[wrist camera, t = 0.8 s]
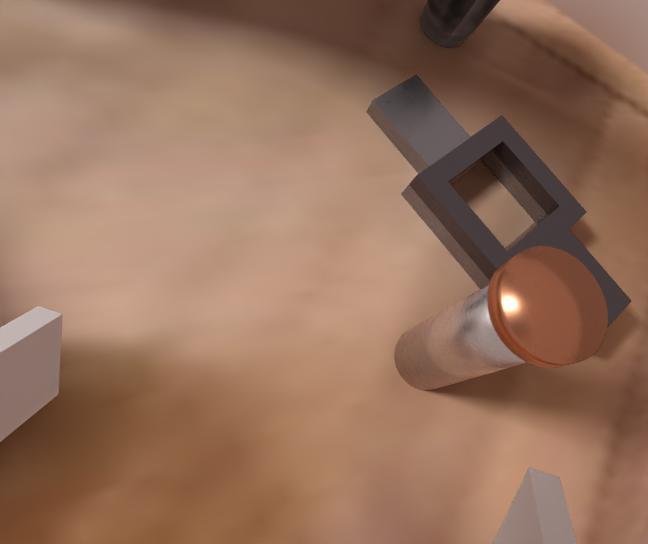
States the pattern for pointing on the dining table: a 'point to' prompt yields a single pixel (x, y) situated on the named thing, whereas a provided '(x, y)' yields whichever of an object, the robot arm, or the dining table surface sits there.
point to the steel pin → (510, 323)
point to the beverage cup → (453, 19)
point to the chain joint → (509, 167)
